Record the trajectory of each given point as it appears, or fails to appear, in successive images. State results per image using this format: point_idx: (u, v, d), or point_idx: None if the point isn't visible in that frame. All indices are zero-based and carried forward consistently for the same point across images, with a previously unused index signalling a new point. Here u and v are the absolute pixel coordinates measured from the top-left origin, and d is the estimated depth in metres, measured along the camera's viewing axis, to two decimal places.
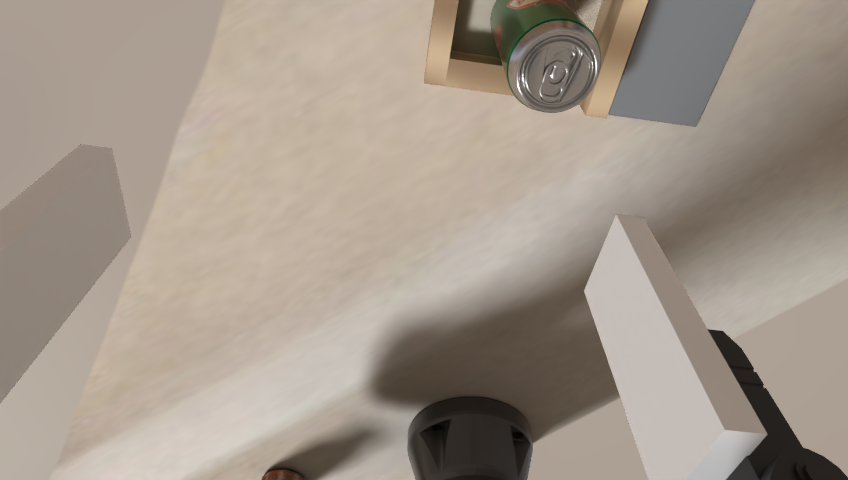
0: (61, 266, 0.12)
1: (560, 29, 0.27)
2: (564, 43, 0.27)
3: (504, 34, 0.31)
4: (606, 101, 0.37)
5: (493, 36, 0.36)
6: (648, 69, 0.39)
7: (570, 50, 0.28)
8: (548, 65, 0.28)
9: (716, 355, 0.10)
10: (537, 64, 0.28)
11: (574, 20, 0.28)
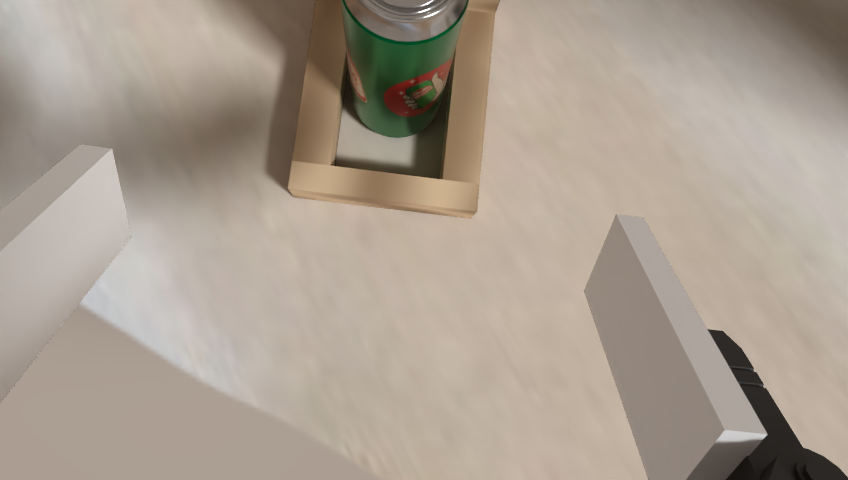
0: (61, 266, 0.12)
1: None
2: None
3: (383, 79, 0.23)
4: None
5: (411, 124, 0.29)
6: None
7: None
8: None
9: (716, 355, 0.10)
10: None
11: None
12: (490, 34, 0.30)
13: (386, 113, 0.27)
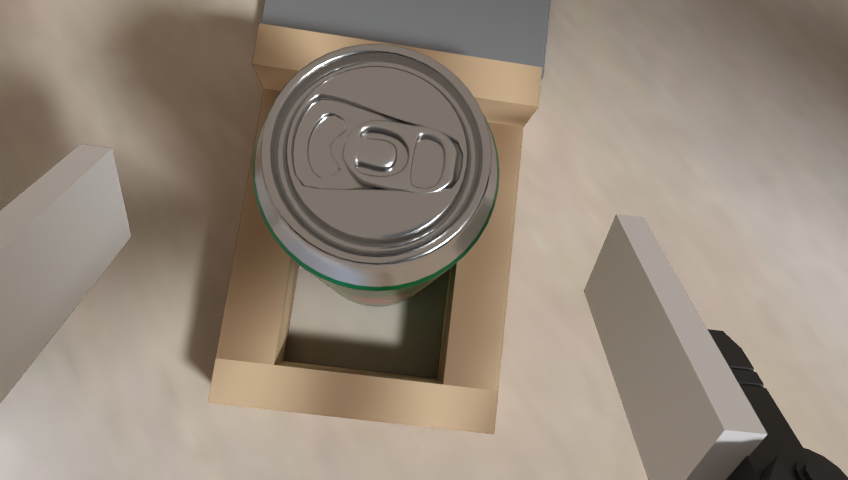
0: (61, 266, 0.12)
1: None
2: (295, 143, 0.10)
3: (345, 292, 0.14)
4: (508, 72, 0.19)
5: (397, 302, 0.19)
6: (460, 26, 0.23)
7: (316, 125, 0.10)
8: (355, 177, 0.10)
9: (716, 355, 0.10)
10: (349, 207, 0.10)
11: None
12: (516, 158, 0.21)
13: (357, 300, 0.17)
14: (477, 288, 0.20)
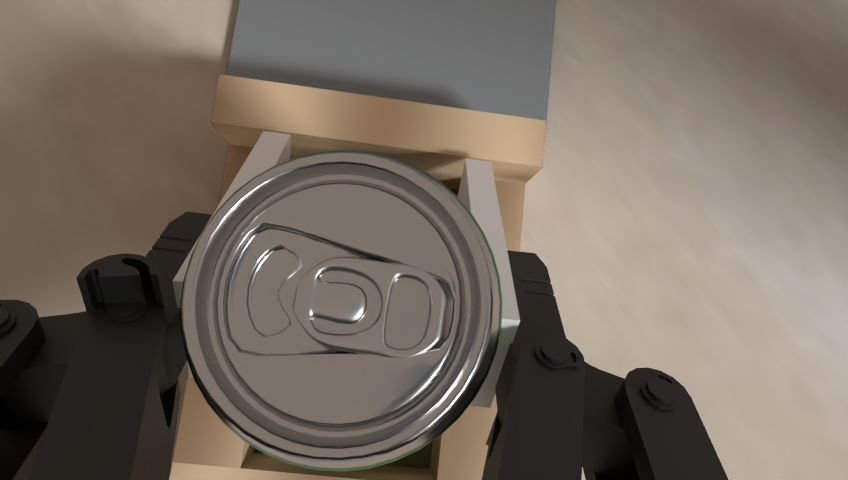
0: None
1: None
2: (229, 291, 0.07)
3: None
4: (507, 127, 0.17)
5: None
6: (452, 65, 0.20)
7: (260, 263, 0.08)
8: (311, 336, 0.07)
9: (504, 264, 0.12)
10: (302, 383, 0.07)
11: None
12: (517, 220, 0.18)
13: None
14: None
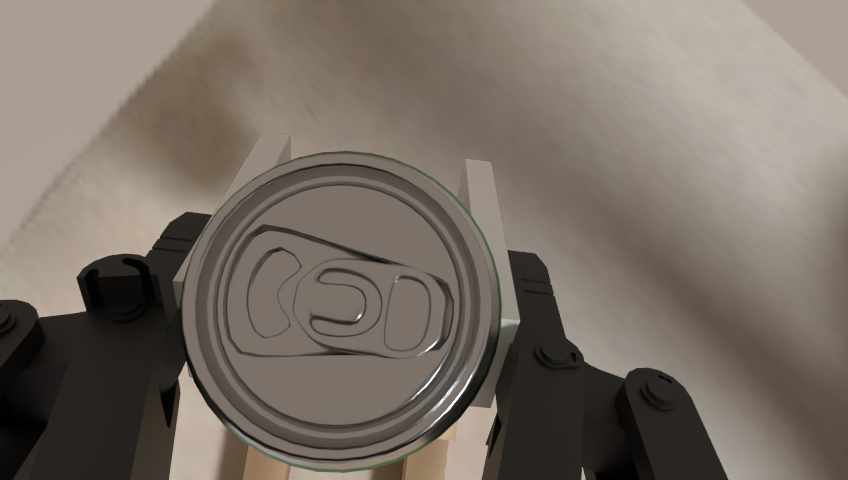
0: None
1: (192, 311, 0.08)
2: (229, 292, 0.07)
3: None
4: None
5: None
6: None
7: (261, 264, 0.08)
8: (311, 338, 0.07)
9: (504, 264, 0.12)
10: (302, 383, 0.07)
11: None
12: (443, 458, 0.28)
13: None
14: None
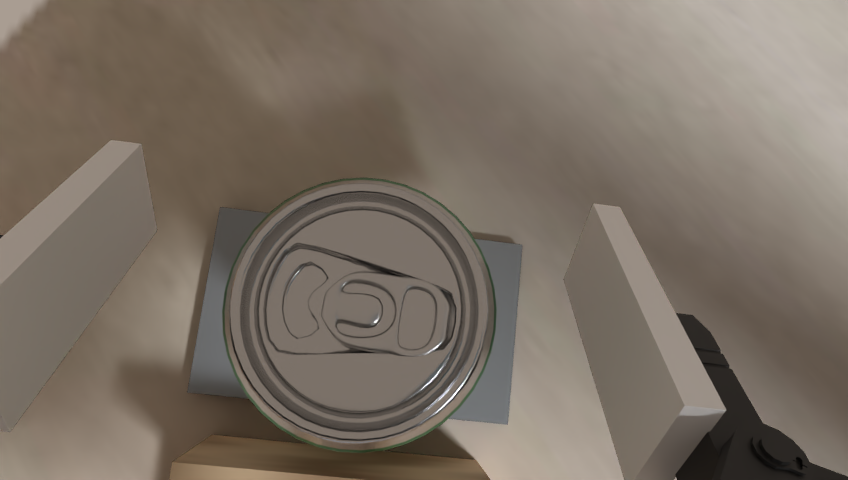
0: (96, 257, 0.12)
1: (235, 315, 0.09)
2: (268, 300, 0.09)
3: None
4: None
5: None
6: None
7: (293, 276, 0.09)
8: (336, 338, 0.09)
9: (682, 336, 0.11)
10: (329, 377, 0.09)
11: None
12: None
13: None
14: None
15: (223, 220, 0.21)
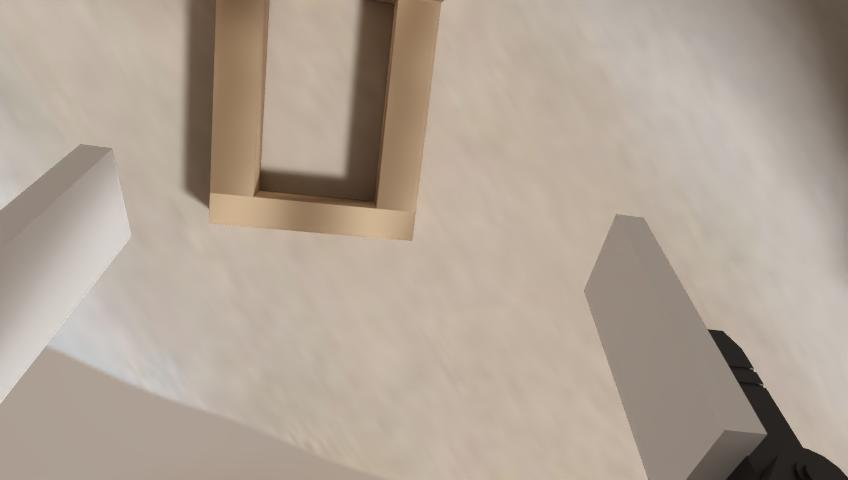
0: (61, 266, 0.12)
1: None
2: None
3: None
4: None
5: None
6: None
7: None
8: None
9: (716, 355, 0.10)
10: None
11: None
12: (434, 32, 0.25)
13: None
14: (401, 139, 0.26)
15: None
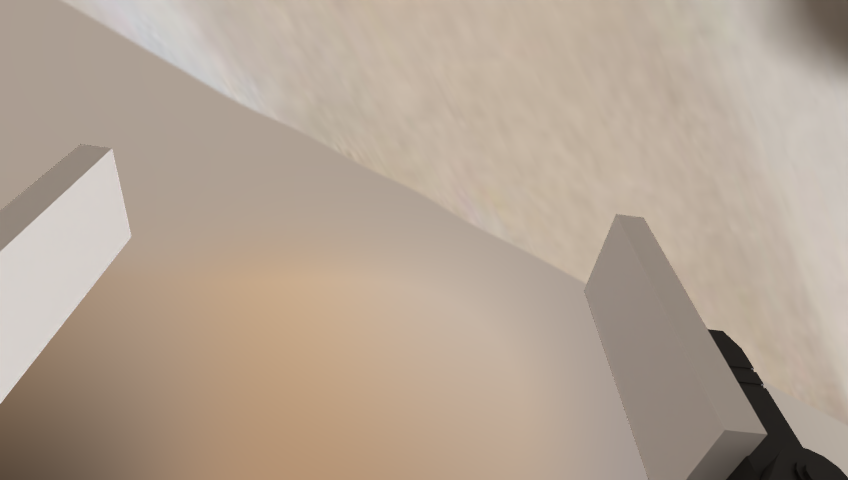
0: (61, 266, 0.12)
1: None
2: None
3: None
4: None
5: None
6: None
7: None
8: None
9: (716, 355, 0.10)
10: None
11: None
12: None
13: None
14: None
15: None
